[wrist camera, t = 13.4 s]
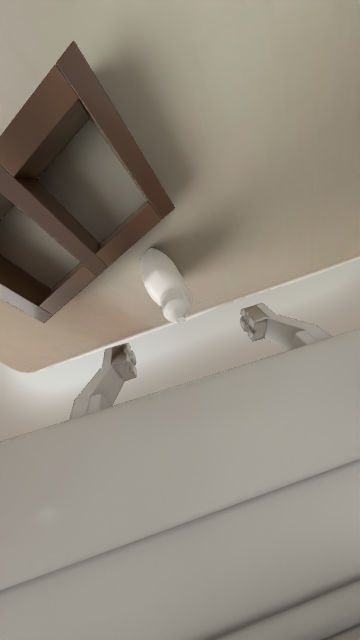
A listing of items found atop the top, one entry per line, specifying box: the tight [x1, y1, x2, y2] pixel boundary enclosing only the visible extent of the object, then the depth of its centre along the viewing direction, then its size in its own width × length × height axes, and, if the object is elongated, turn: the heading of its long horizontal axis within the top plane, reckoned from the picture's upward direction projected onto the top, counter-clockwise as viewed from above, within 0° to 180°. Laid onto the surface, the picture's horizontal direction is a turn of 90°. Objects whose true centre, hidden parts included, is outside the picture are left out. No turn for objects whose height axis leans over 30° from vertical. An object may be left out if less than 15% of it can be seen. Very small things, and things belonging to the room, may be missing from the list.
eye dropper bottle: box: [140, 248, 193, 324], centre depth 19 cm, size 4×6×12 cm
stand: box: [0, 41, 175, 323], centre depth 17 cm, size 19×10×4 cm, turn 125°
